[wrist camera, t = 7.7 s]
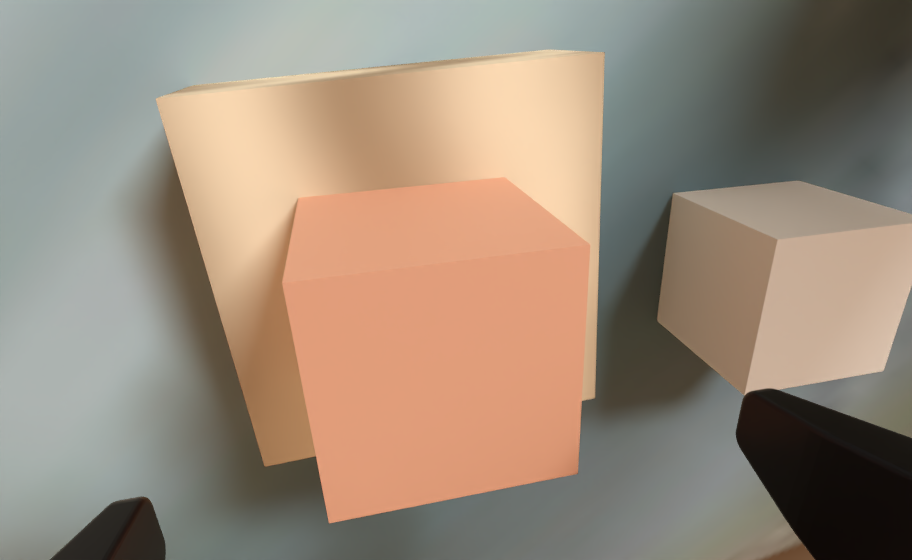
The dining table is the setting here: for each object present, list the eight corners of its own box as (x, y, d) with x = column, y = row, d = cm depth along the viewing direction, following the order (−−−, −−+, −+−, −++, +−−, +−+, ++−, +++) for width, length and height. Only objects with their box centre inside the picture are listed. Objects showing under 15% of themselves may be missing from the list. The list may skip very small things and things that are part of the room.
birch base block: (544, 49, 17) (604, 52, 13) (548, 335, 21) (594, 398, 17) (196, 84, 15) (155, 98, 11) (276, 386, 19) (264, 466, 16)
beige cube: (796, 179, 20) (932, 220, 15) (769, 303, 22) (883, 370, 18) (671, 192, 19) (777, 239, 15) (655, 319, 21) (744, 395, 17)
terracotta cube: (504, 176, 14) (590, 244, 9) (507, 350, 16) (577, 473, 11) (298, 197, 13) (282, 283, 8) (329, 377, 15) (328, 523, 10)
